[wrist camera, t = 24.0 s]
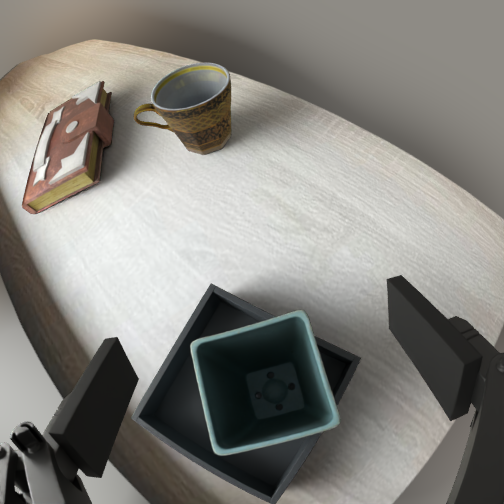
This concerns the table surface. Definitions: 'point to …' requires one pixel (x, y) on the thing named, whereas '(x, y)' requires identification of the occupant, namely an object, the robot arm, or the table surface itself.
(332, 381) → the tote
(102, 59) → the table surface
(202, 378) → the flower pot
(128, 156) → the table surface
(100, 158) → the book
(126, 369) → the robot arm
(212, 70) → the ceramic cup
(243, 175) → the table surface
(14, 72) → the table surface
